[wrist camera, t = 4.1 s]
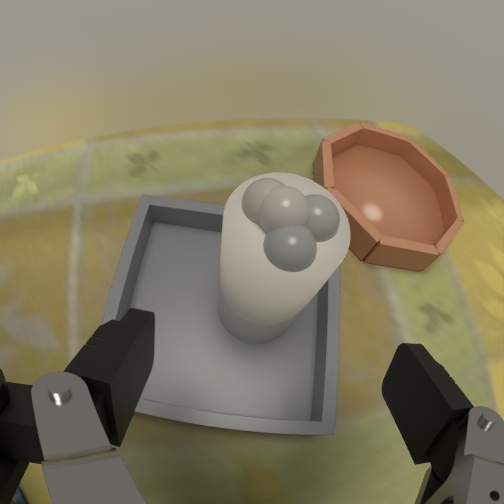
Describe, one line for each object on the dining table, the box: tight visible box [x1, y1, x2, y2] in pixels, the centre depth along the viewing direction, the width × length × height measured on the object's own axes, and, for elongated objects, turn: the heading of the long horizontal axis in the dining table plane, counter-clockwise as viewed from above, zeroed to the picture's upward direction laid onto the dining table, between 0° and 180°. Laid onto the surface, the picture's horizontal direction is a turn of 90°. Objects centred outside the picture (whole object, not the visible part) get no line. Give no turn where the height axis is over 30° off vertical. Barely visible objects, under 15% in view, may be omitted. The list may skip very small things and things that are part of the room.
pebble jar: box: [218, 173, 350, 344], centre depth 16 cm, size 5×5×11 cm
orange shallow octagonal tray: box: [313, 123, 464, 271], centre depth 27 cm, size 14×14×3 cm
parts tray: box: [101, 194, 340, 435], centre depth 20 cm, size 14×14×3 cm
